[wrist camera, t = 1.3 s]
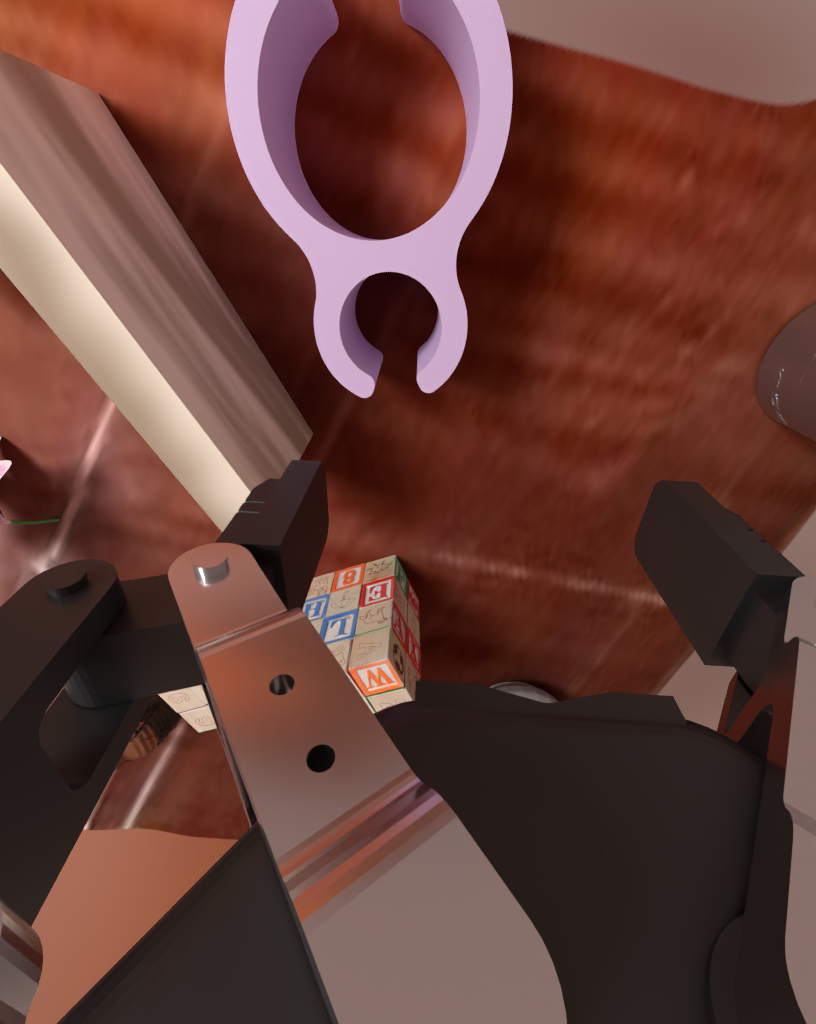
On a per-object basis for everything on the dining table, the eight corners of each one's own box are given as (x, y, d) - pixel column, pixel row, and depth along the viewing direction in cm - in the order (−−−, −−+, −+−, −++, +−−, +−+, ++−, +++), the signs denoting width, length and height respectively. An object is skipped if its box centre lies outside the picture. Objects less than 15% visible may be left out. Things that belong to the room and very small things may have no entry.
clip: (489, 359, 32) (504, 387, 26) (315, 373, 33) (292, 403, 27) (492, -73, 21) (519, -190, 16) (238, -36, 22) (172, -135, 16)
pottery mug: (188, 727, 56) (123, 786, 50) (138, 674, 58) (69, 726, 52) (195, 694, 48) (118, 761, 42) (136, 634, 49) (54, 690, 43)
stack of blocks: (233, 652, 48) (181, 767, 38) (199, 611, 45) (132, 724, 35) (421, 600, 44) (421, 716, 33) (397, 551, 41) (389, 661, 30)
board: (97, 92, 25) (-131, -9, 15) (313, 434, 35) (268, 516, 25) (59, 124, 25) (-184, 49, 15) (281, 449, 36) (225, 535, 25)
